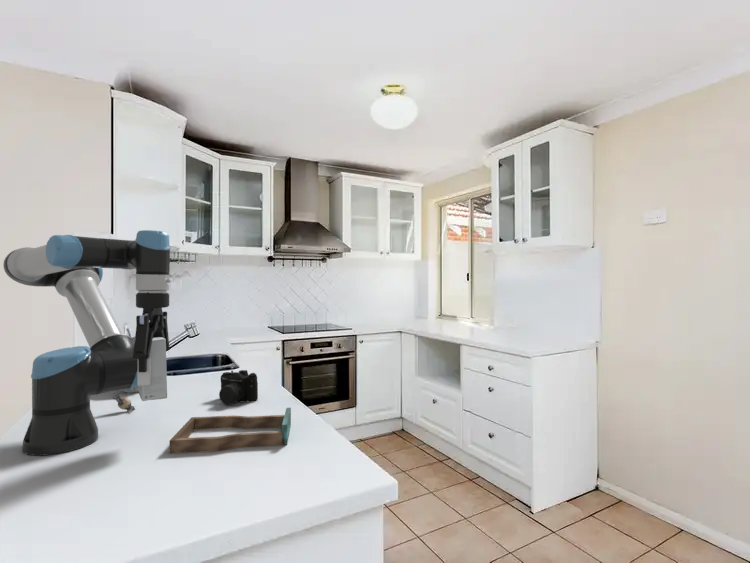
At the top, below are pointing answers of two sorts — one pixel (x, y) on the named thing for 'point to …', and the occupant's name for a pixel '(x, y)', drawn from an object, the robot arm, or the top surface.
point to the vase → (124, 403)
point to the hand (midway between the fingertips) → (152, 380)
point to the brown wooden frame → (203, 444)
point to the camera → (238, 387)
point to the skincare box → (156, 372)
